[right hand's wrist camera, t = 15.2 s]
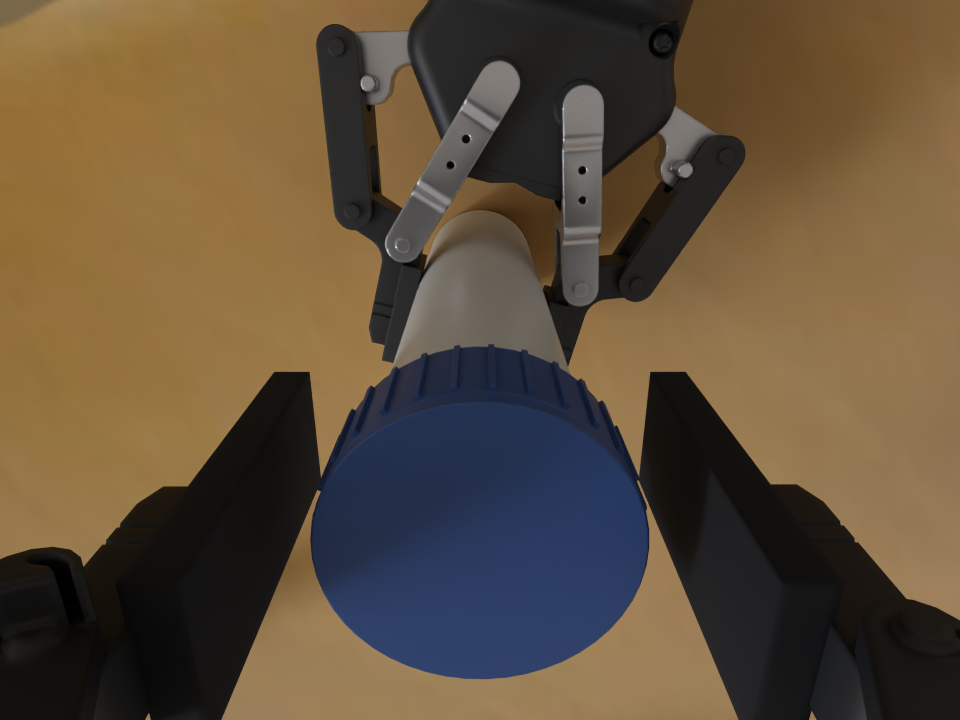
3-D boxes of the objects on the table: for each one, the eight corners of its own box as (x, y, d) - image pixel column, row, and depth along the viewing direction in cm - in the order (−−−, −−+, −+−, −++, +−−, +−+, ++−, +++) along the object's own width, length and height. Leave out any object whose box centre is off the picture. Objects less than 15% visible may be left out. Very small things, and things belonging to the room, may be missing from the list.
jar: (411, 273, 29) (298, 559, 11) (466, 189, 28) (440, 358, 10) (492, 326, 30) (511, 669, 12) (550, 247, 29) (669, 501, 11)
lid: (617, 585, 13) (644, 679, 11) (352, 593, 14) (328, 688, 11) (631, 335, 11) (667, 391, 9) (317, 346, 11) (280, 404, 9)
